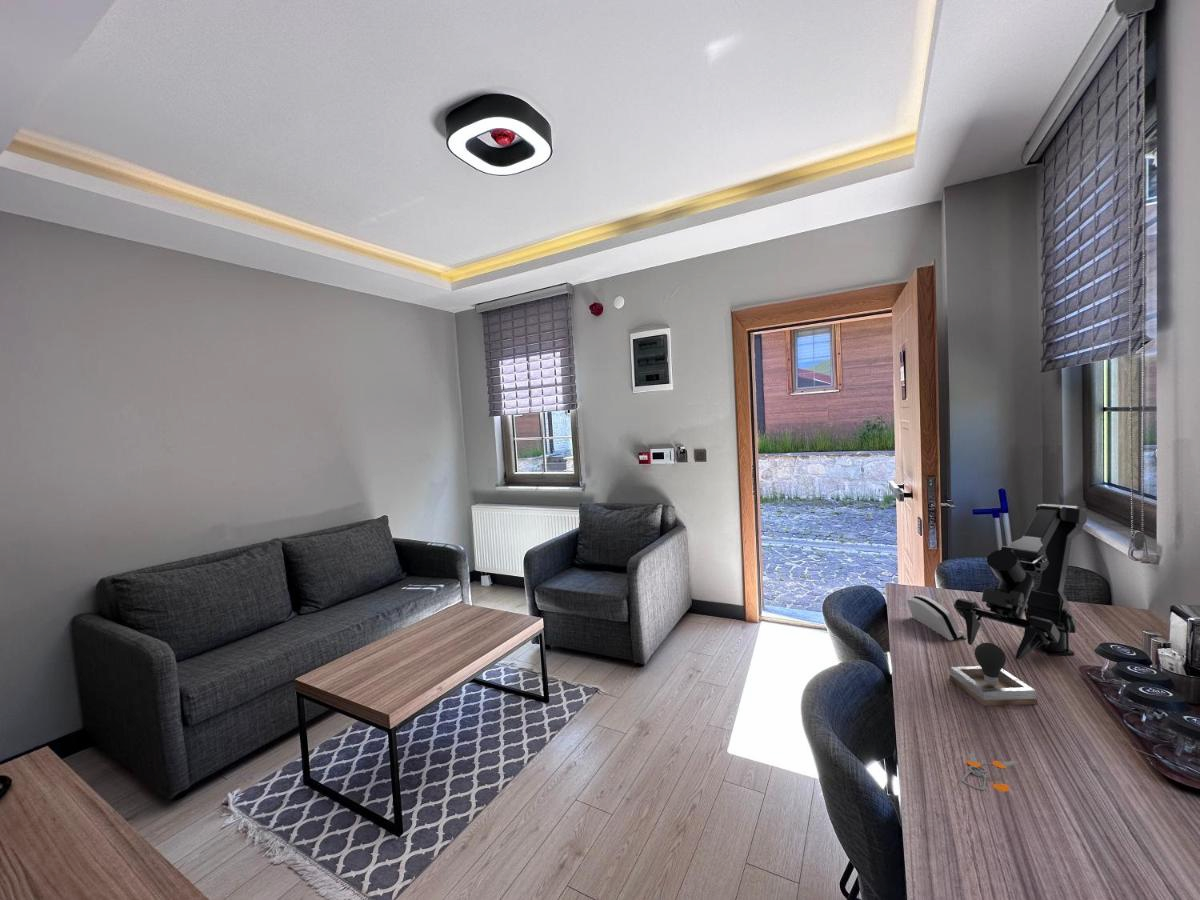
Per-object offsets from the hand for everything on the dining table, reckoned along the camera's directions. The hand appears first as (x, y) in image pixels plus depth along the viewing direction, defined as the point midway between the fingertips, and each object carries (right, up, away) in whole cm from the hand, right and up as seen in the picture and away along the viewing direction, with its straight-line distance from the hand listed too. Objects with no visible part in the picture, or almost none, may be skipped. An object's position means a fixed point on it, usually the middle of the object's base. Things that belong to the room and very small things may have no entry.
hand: (992, 651), depth 111 cm
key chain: (-20, -12, -24) cm, 34 cm away
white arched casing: (+9, -7, +33) cm, 35 cm away
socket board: (0, -9, 0) cm, 9 cm away
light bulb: (0, -8, 0) cm, 8 cm away
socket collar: (0, -9, 0) cm, 9 cm away
